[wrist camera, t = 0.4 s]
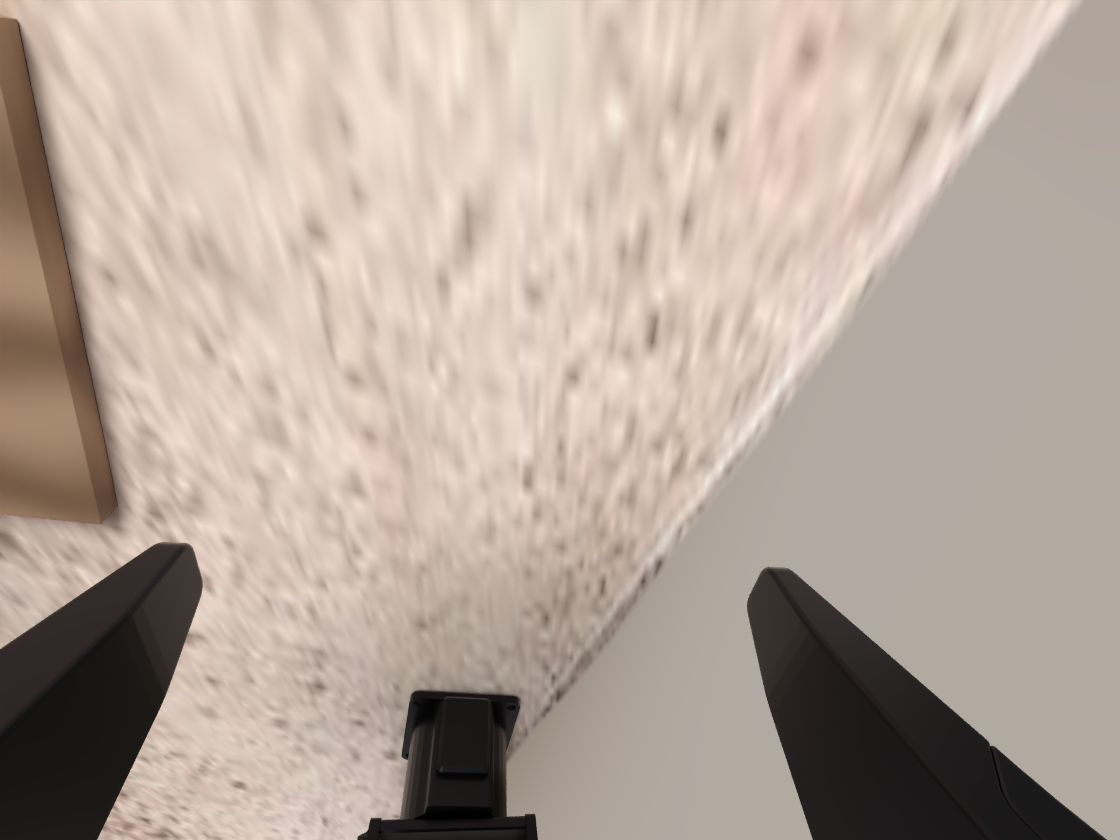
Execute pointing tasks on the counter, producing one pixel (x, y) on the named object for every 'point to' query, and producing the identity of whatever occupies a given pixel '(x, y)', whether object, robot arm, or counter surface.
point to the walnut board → (40, 331)
